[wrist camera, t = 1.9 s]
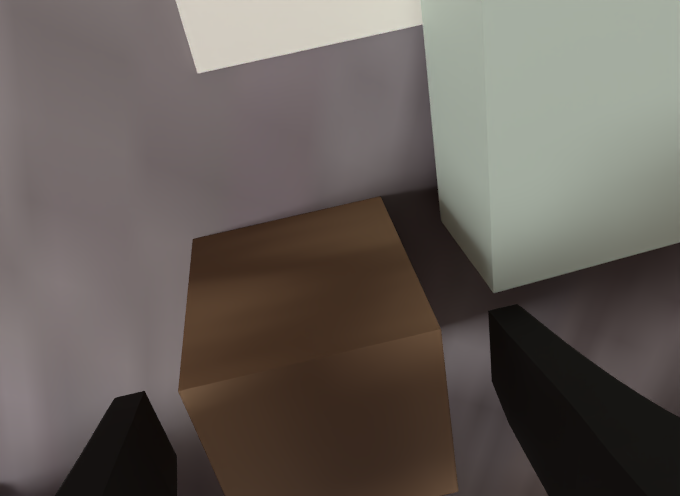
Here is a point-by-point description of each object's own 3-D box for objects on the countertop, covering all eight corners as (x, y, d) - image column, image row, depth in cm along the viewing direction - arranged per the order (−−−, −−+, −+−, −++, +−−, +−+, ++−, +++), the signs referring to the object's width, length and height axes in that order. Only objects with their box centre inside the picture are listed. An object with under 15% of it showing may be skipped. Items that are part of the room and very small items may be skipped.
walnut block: (242, 374, 17) (246, 543, 13) (192, 238, 14) (177, 391, 10) (401, 336, 17) (458, 491, 13) (379, 195, 15) (440, 329, 10)
